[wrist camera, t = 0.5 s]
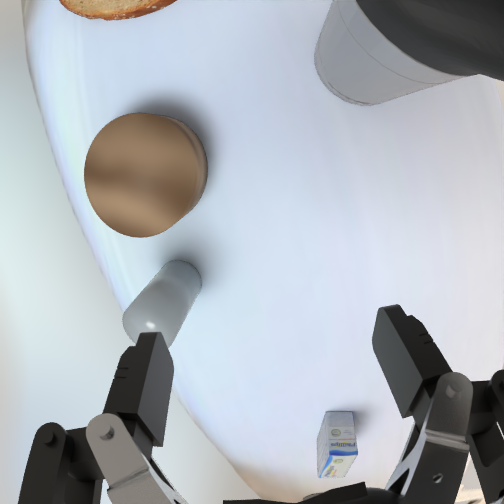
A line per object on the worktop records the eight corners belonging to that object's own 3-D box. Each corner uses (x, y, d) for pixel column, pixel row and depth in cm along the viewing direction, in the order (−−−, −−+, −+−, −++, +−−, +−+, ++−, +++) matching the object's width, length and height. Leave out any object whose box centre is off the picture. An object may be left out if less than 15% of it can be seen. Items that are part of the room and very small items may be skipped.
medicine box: (341, 437, 43) (345, 477, 35) (315, 437, 44) (317, 479, 36) (352, 410, 41) (359, 454, 32) (324, 410, 41) (328, 456, 33)
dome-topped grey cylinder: (166, 253, 34) (127, 294, 25) (207, 271, 34) (180, 320, 25) (155, 289, 36) (119, 335, 27) (193, 306, 36) (167, 359, 27)
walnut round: (127, 103, 28) (103, 99, 24) (225, 137, 29) (214, 137, 24) (98, 200, 33) (74, 210, 28) (185, 240, 33) (170, 256, 29)
